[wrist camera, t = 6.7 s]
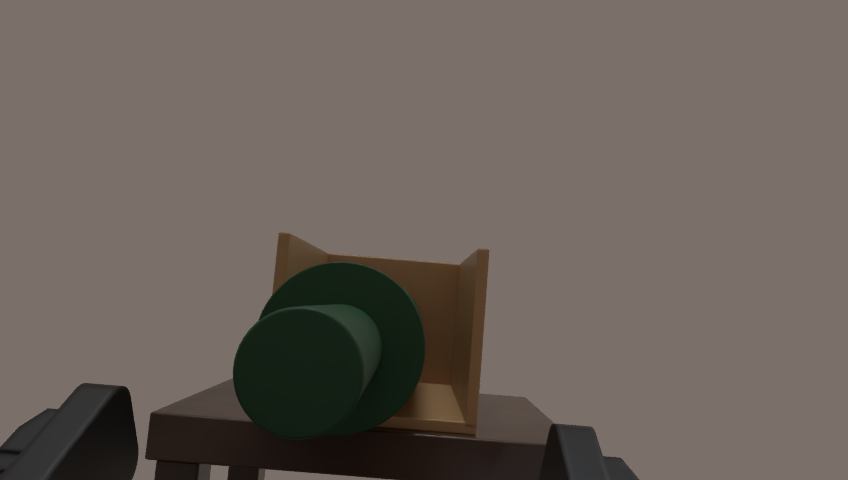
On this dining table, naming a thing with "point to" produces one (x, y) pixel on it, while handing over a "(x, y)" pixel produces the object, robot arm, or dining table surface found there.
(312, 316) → the bottle
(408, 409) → the wooden box
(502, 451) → the small brown side table
